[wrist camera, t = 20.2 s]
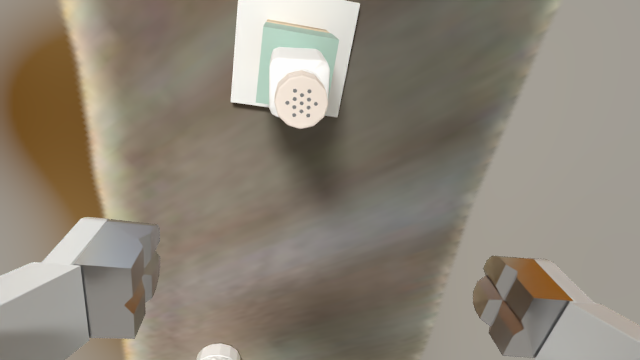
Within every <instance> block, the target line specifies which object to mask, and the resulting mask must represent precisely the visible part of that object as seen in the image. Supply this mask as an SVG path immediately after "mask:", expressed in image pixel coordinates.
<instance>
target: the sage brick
mask: <svg viewBox="0 0 640 360" xmlns="http://www.w3.org/2000/svg"><path fill="white" fill-rule="evenodd" d="M338 44H339V39H338V38H336V37H335V36H334V35H333V34H331V33H326V32H320V31H314V30H309V29H303V28H298V27H292V26H287V25H281V24H275V23H270V22H265V24H264V26H263V34H262V44H261V54H260V64H259V74H258V84H257V94H256V103H262V104H269V65H270V59H271V54H272V52H273V49H275V48H278V47H290V48H310V49H317V50H319V51H320V52H321V53H322V55H323V56H324V58H325V59H326V61H327V62H328V65H329V68H330V78H329V93H330V87H331V82H332V77H333V71H334V66H335V60H336V55H337V49H338ZM328 98H329V94H328Z"/></svg>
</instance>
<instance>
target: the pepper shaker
mask: <svg viewBox="0 0 640 360" xmlns="http://www.w3.org/2000/svg"><path fill="white" fill-rule="evenodd" d="M329 78H330V68H329V65H328V62H327V61H326V59H325V58H324V56H323V55H322V53H321V52H320V51H319V50H317V49H310V48H290V47H278V48H275V49H273V52H272V54H271V59H270V65H269V109H270V111H271V113H272V114H273V115H275V116H277V117H280V118H281V119H282V120H283V121H284V122H285V123H286V124H287V125H289V126H292V127H295V128H299V129H303V128H307V127H312V126H314V125H316V124H317V123H318V122H319V121H320V120H321V119H322V118H323V117H324V116H325V113H326V111H327V107H328V94H329Z"/></svg>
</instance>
